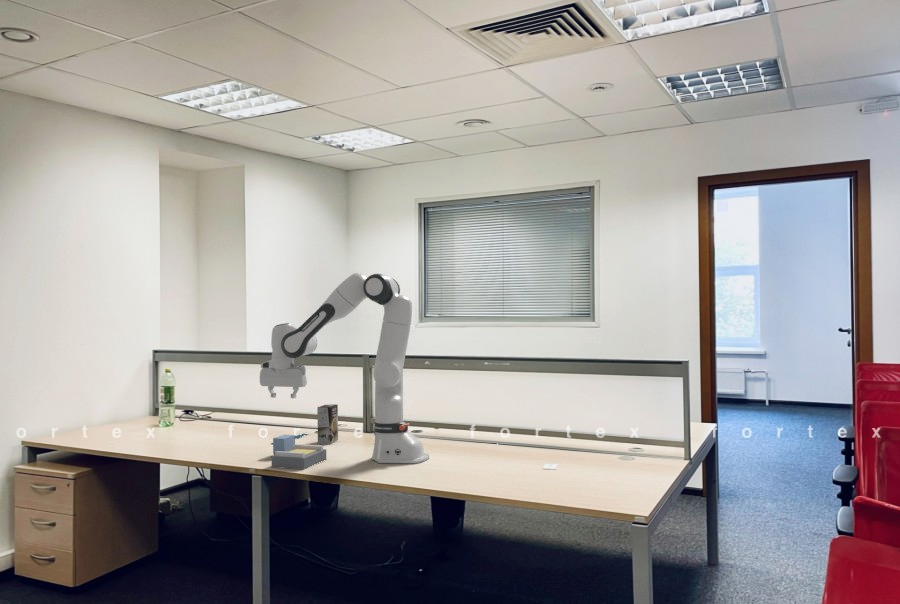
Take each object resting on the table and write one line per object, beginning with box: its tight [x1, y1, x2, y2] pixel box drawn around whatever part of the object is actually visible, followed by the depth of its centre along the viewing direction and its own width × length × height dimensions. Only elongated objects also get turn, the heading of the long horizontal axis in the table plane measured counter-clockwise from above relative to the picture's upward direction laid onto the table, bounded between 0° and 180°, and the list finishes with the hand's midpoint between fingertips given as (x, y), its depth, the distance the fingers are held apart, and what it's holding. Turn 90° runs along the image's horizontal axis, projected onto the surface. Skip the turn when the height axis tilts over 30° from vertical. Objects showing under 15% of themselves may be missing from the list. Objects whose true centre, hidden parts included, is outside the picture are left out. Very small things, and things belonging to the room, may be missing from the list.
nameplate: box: [270, 433, 308, 445], centre depth 308 cm, size 37×1×5 cm
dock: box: [271, 443, 327, 470], centre depth 254 cm, size 14×16×6 cm
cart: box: [272, 434, 296, 456], centre depth 269 cm, size 5×8×8 cm, turn 161°
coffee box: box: [316, 404, 339, 445], centre depth 294 cm, size 9×6×16 cm
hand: (283, 397), depth 269 cm, fingers open, 8 cm apart
